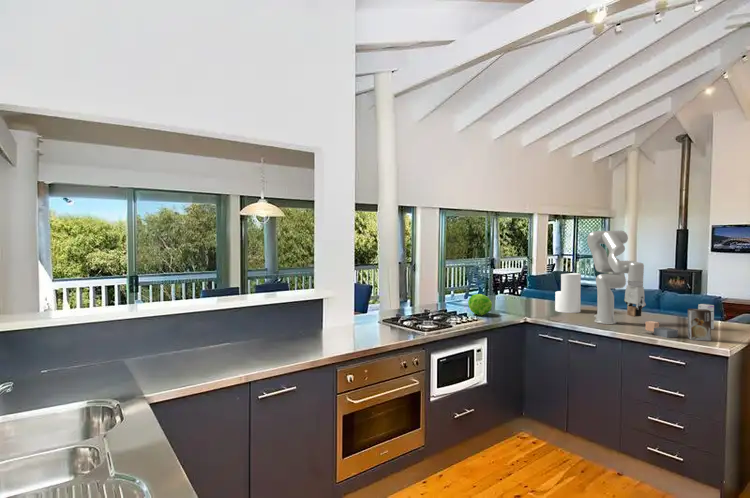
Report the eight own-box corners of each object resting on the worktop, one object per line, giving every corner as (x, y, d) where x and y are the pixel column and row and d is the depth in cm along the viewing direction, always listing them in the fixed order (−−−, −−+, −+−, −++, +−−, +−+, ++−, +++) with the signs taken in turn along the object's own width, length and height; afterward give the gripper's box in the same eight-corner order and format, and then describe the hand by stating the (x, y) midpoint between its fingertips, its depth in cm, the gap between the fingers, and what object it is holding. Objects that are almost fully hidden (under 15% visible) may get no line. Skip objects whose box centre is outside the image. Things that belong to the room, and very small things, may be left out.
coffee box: (707, 338, 240) (707, 309, 240) (711, 341, 234) (711, 311, 234) (687, 337, 243) (687, 308, 243) (690, 339, 237) (691, 310, 237)
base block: (653, 335, 250) (653, 328, 250) (664, 334, 253) (664, 327, 253) (667, 338, 243) (667, 331, 243) (677, 337, 245) (677, 329, 245)
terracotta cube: (645, 330, 263) (645, 321, 263) (650, 329, 265) (650, 320, 265) (654, 331, 258) (654, 323, 258) (659, 330, 261) (659, 322, 261)
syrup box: (714, 329, 264) (714, 304, 264) (706, 329, 263) (707, 305, 262) (704, 327, 270) (705, 303, 269) (697, 327, 268) (697, 303, 268)
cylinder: (585, 311, 329) (585, 273, 328) (571, 313, 319) (572, 274, 318) (563, 308, 343) (564, 272, 342) (550, 310, 333) (550, 273, 333)
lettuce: (492, 316, 323) (494, 295, 324) (488, 318, 305) (491, 296, 305) (469, 312, 329) (471, 292, 330) (464, 314, 311) (467, 292, 311)
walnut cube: (627, 314, 258) (627, 306, 258) (634, 314, 259) (634, 305, 259) (634, 316, 253) (634, 308, 253) (641, 316, 254) (641, 307, 254)
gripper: (618, 281, 262) (617, 312, 264) (642, 286, 246) (640, 318, 247) (629, 281, 264) (628, 311, 265) (653, 285, 247) (651, 317, 249)
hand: (634, 314), depth 256 cm, fingers closed on walnut cube, 5 cm apart
